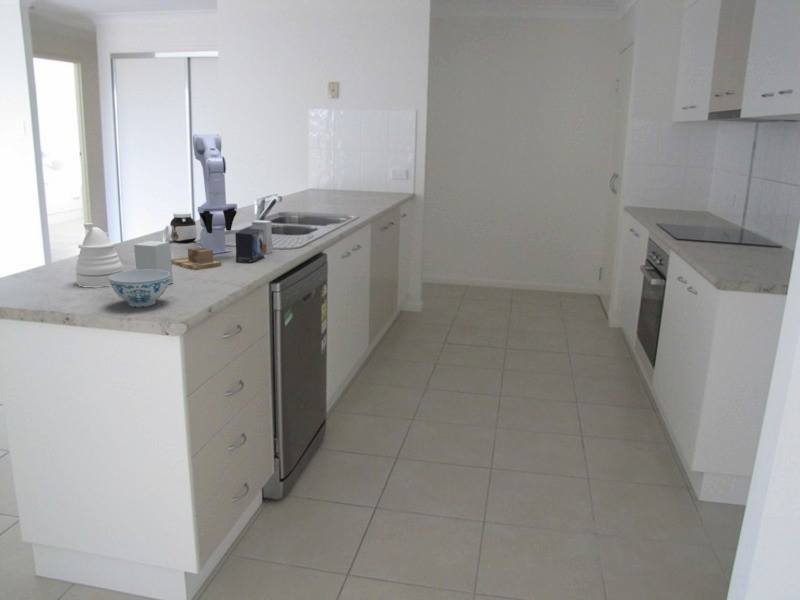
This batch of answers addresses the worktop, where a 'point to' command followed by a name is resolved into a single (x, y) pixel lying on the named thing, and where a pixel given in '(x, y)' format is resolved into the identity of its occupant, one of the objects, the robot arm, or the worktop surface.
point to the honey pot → (96, 259)
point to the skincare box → (264, 234)
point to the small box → (249, 245)
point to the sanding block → (200, 256)
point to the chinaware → (140, 285)
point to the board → (187, 264)
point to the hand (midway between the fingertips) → (219, 231)
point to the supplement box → (154, 256)
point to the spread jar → (181, 228)
